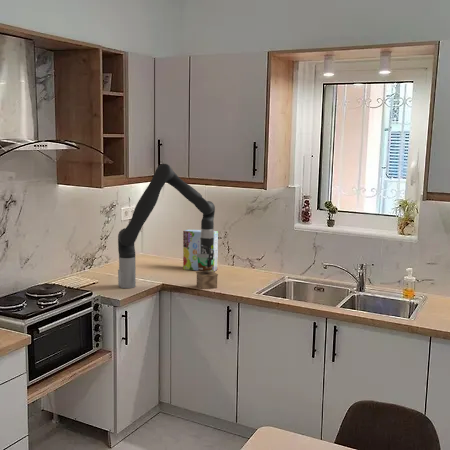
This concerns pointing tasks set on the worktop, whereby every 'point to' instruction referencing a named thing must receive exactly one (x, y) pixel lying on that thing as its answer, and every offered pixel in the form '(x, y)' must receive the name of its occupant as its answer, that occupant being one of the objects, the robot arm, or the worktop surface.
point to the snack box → (196, 249)
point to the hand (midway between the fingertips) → (206, 265)
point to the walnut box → (207, 279)
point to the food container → (204, 262)
